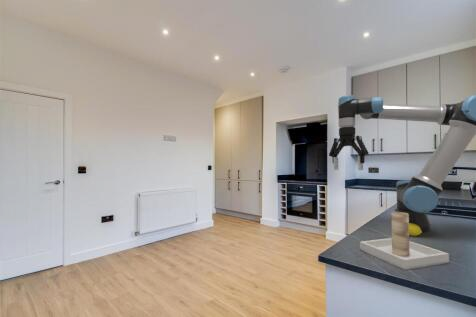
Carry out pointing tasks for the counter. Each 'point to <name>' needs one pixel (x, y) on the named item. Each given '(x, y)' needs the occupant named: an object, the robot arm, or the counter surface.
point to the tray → (417, 258)
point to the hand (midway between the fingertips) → (347, 170)
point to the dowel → (400, 234)
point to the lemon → (414, 230)
